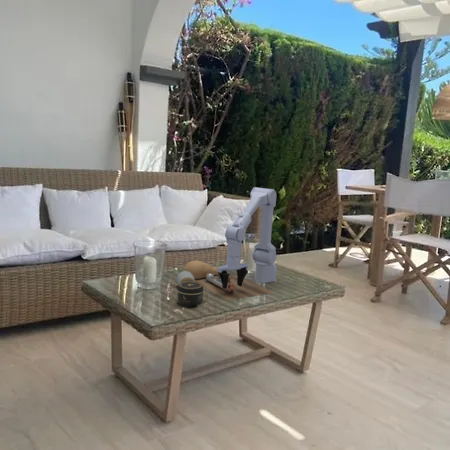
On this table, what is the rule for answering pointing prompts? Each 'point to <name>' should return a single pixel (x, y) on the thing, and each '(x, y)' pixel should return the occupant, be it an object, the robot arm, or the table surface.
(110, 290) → the table surface
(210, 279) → the lever
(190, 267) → the squash
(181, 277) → the ceramic mug
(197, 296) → the jar
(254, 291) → the board
